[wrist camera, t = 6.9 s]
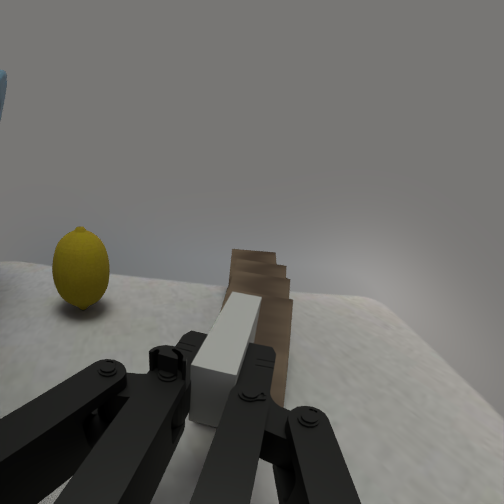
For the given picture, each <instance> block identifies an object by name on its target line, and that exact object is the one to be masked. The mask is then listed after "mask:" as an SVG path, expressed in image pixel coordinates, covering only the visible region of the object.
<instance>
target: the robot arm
mask: <svg viewBox="0 0 504 504" xmlns="http://www.w3.org/2000/svg"><path fill="white" fill-rule="evenodd" d="M6 78H7V75H6V72H5V71H4V70H0V120H1V115H2V110H3V105H4V99H5V94H6V87H7V81H6ZM261 299H262V297H258V296H253V295H248V294H243V293H237V292H232V293H231V295H230V297H229V298H228V300H227V302H226V304H225V305H224V307H223V309H222V311H221V313H220V314H219V316H218V318H217V320H216V321H215V323H214V325H213V327H212V328H211V330H210V332H209V334H204V333H200V332H195V331H190V332H188V333H186V334H185V335H183V336H182V338H181V339H180V340H179V343H177V345H176V346H168V345H164V346H157V347H154V348H153V349H151V350H150V351H149V366H150V370H149V372H148V373H147V374H135V373H126V369H125V366H124V365H123V364H122V363H120V362H118V361H116V360H110V359H105V360H99V361H97V362H95V363H93V364H91V365H90V366H88V367H86V368H85V369H83V370H82V371H80V372H78V373H77V374H75V375H73V376H72V377H70V378H68V379H67V380H65V381H63V382H62V383H60V384H58V385H57V386H55V387H53V388H52V389H50V390H48V391H47V392H45V393H43V394H42V395H40V396H38V397H37V398H35V399H33V400H32V401H30V402H28V403H27V404H25V405H23V406H22V407H20V408H18V409H17V410H15V411H13V412H12V413H10V414H8V415H7V416H5V417H3V418H2V419H0V504H38V503H39V502H40V501H41V500H43V499H44V498H45V497H47V496H48V495H49V494H50V493H52V492H53V491H54V490H56V489H57V488H58V487H59V486H61V485H62V484H63V483H64V482H66V481H67V480H68V479H69V478H71V477H72V476H73V477H72V478H71V479H70V481H69V482H68V484H67V485H66V487H65V488H64V489H63V491H62V492H61V494H60V495H59V496H58V498H57V499H56V501H55V502H54V503H53V504H150V502H151V500H152V498H153V496H154V494H155V492H156V489H157V487H158V485H159V483H160V481H161V479H162V477H163V474H164V472H165V470H166V468H167V466H168V464H169V462H170V459H171V457H172V455H173V453H174V451H175V449H176V447H177V444H178V442H179V440H180V438H181V436H182V434H183V431H184V428H185V419H186V417H187V415H188V412H189V420H190V421H194V422H197V423H201V424H205V425H209V426H213V427H217V430H216V433H215V436H214V438H213V441H212V444H211V447H210V450H209V452H208V455H207V458H206V461H205V463H204V466H203V469H202V472H201V474H200V477H199V480H198V482H197V485H196V488H195V491H194V493H193V496H192V499H191V501H190V504H250V499H251V495H252V490H253V485H254V480H255V475H256V470H257V465H258V460H259V458H261V459H263V460H265V461H267V462H269V463H272V464H273V472H274V478H275V483H276V489H277V494H278V500H279V504H361V502H360V499H359V497H358V494H357V491H356V489H355V486H354V483H353V481H352V478H351V476H350V473H349V470H348V468H347V465H346V463H345V460H344V458H343V455H342V452H341V450H340V447H339V445H338V442H337V439H336V437H335V434H334V432H333V429H332V427H331V424H330V422H329V419H328V417H327V416H326V414H325V413H323V412H322V411H321V410H319V409H317V408H314V407H310V406H301V407H296V408H295V409H293V410H291V411H290V410H287V409H285V408H283V407H281V406H279V405H278V404H276V403H275V402H274V401H273V399H272V397H271V395H270V390H271V384H272V378H273V372H274V366H275V359H276V353H275V351H274V349H273V347H270V346H265V345H260V344H254V339H255V334H256V328H257V322H258V316H259V310H260V304H261Z"/></svg>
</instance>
